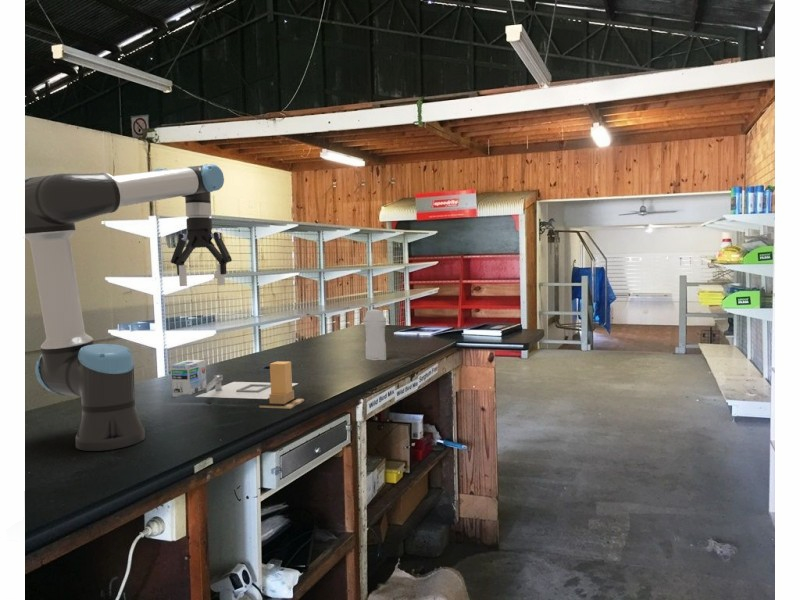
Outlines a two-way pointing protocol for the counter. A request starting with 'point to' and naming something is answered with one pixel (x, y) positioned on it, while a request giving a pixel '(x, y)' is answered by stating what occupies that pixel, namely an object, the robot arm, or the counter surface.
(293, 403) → the tan flat l-shape
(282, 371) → the tan tall block
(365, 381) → the counter surface
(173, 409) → the counter surface
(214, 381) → the silver metal bar
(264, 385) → the socket board
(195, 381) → the light bulb box
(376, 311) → the tall pale column
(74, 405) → the counter surface
